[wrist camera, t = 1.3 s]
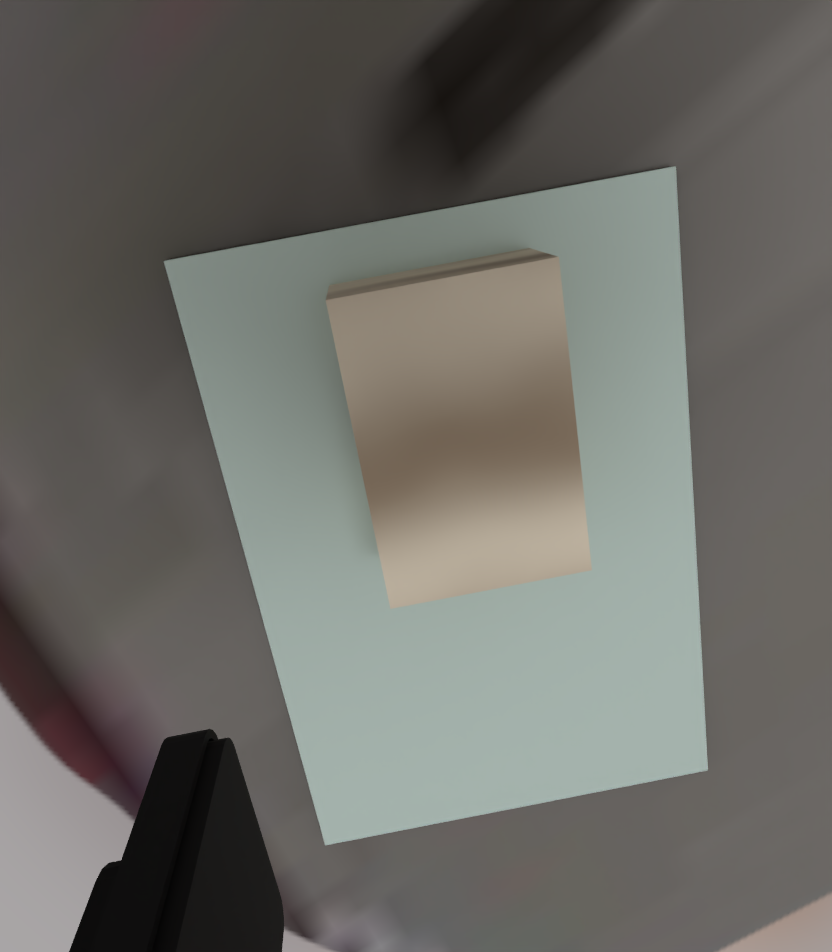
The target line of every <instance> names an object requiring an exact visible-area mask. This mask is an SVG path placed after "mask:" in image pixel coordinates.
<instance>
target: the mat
mask: <svg viewBox="0 0 832 952" xmlns="http://www.w3.org/2000/svg"><path fill="white" fill-rule="evenodd" d="M526 248H531V249H535V250H538V251H541V252H545V253H548V254H551V255H555V256H558V257H559V263H560V272H561V281H562V291H563V300H564V310H565V319H566V329H567V338H568V348H569V357H570V367H571V376H572V386H573V395H574V405H575V414H576V424H577V433H578V443H579V452H580V462H581V471H582V481H583V490H584V500H585V509H586V518H587V528H588V537H589V547H590V556H591V566H592V570H591V571H585V572H580V573H575V574H570V575H565V576H559V577H554V578H549V579H544V580H539V581H533V582H528V583H523V584H518V585H513V586H507V587H502V588H497V589H492V590H487V591H481V592H476V593H471V594H466V595H461V596H455V597H450V598H445V599H440V600H435V601H429V602H424V603H419V604H414V605H409V606H403V607H398V608H393V609H390V604H389V600H388V595H387V590H386V585H385V581H384V576H383V571H382V566H381V562H380V557H379V552H378V547H377V543H376V538H375V533H374V528H373V523H372V519H371V514H370V509H369V504H368V500H367V495H366V490H365V485H364V481H363V476H362V471H361V466H360V462H359V457H358V452H357V447H356V443H355V438H354V433H353V428H352V424H351V419H350V414H349V409H348V404H347V400H346V395H345V390H344V385H343V381H342V376H341V371H340V366H339V362H338V357H337V352H336V347H335V343H334V338H333V333H332V328H331V324H330V319H329V314H328V309H327V305H326V297H327V292H328V288H329V285H333V284H338V283H344V282H349V281H354V280H360V279H365V278H370V277H376V276H381V275H386V274H392V273H397V272H403V271H408V270H413V269H419V268H424V267H429V266H435V265H440V264H446V263H451V262H456V261H462V260H467V259H472V258H478V257H483V256H489V255H494V254H499V253H505V252H510V251H515V250H521V249H526ZM164 264H165V267H166V271H167V275H168V278H169V282H170V285H171V289H172V293H173V296H174V300H175V304H176V307H177V311H178V314H179V318H180V322H181V325H182V329H183V333H184V336H185V340H186V343H187V347H188V351H189V354H190V358H191V361H192V365H193V369H194V372H195V376H196V380H197V383H198V387H199V390H200V394H201V398H202V401H203V405H204V408H205V412H206V416H207V419H208V423H209V427H210V430H211V434H212V437H213V441H214V445H215V448H216V452H217V455H218V459H219V463H220V466H221V470H222V474H223V477H224V481H225V484H226V488H227V492H228V495H229V499H230V503H231V506H232V510H233V513H234V517H235V521H236V524H237V528H238V531H239V535H240V539H241V542H242V546H243V550H244V553H245V557H246V560H247V564H248V568H249V571H250V575H251V578H252V582H253V586H254V589H255V593H256V597H257V600H258V604H259V607H260V611H261V615H262V618H263V622H264V625H265V629H266V633H267V636H268V640H269V644H270V647H271V651H272V654H273V658H274V662H275V665H276V669H277V673H278V676H279V680H280V683H281V687H282V691H283V694H284V698H285V701H286V705H287V709H288V712H289V716H290V720H291V723H292V727H293V730H294V734H295V738H296V741H297V745H298V748H299V752H300V756H301V759H302V763H303V767H304V770H305V774H306V777H307V781H308V785H309V788H310V792H311V795H312V799H313V803H314V806H315V810H316V814H317V817H318V821H319V824H320V828H321V832H322V835H323V839H324V843H325V845H329V844H334V843H340V842H345V841H350V840H355V839H360V838H365V837H370V836H375V835H380V834H385V833H391V832H396V831H401V830H406V829H411V828H416V827H421V826H426V825H431V824H436V823H441V822H447V821H452V820H457V819H462V818H467V817H472V816H477V815H482V814H487V813H492V812H498V811H503V810H508V809H513V808H518V807H523V806H528V805H533V804H538V803H543V802H549V801H554V800H559V799H564V798H569V797H574V796H579V795H584V794H589V793H594V792H600V791H605V790H610V789H615V788H620V787H625V786H630V785H635V784H640V783H645V782H650V781H656V780H661V779H666V778H671V777H676V776H681V775H686V774H691V773H696V772H701V771H707V770H708V764H707V746H706V727H705V708H704V689H703V670H702V651H701V632H700V613H699V594H698V576H697V557H696V538H695V519H694V500H693V481H692V462H691V443H690V425H689V406H688V387H687V368H686V349H685V330H684V311H683V292H682V274H681V255H680V236H679V217H678V198H677V179H676V166H674V167H667V168H662V169H656V170H651V171H645V172H640V173H635V174H629V175H624V176H618V177H613V178H608V179H602V180H597V181H591V182H586V183H581V184H575V185H570V186H564V187H559V188H554V189H548V190H543V191H537V192H532V193H527V194H521V195H516V196H510V197H505V198H500V199H494V200H489V201H483V202H478V203H473V204H467V205H462V206H456V207H451V208H446V209H440V210H435V211H429V212H424V213H419V214H413V215H408V216H402V217H397V218H392V219H386V220H381V221H375V222H370V223H365V224H359V225H354V226H348V227H343V228H338V229H332V230H327V231H321V232H316V233H311V234H305V235H300V236H294V237H289V238H284V239H278V240H273V241H267V242H262V243H256V244H251V245H246V246H240V247H235V248H229V249H224V250H219V251H213V252H208V253H202V254H197V255H192V256H186V257H181V258H175V259H170V260H166V261H164Z"/></svg>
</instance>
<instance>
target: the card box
mask: <svg viewBox="0 0 832 952" xmlns="http://www.w3.org/2000/svg"><path fill="white" fill-rule="evenodd" d="M326 305H327V309H328V314H329V319H330V324H331V328H332V333H333V338H334V343H335V347H336V352H337V357H338V362H339V366H340V371H341V376H342V381H343V385H344V390H345V395H346V400H347V404H348V409H349V414H350V419H351V424H352V428H353V433H354V438H355V443H356V447H357V452H358V457H359V462H360V466H361V471H362V476H363V481H364V485H365V490H366V495H367V500H368V504H369V509H370V514H371V519H372V523H373V528H374V533H375V538H376V543H377V547H378V552H379V557H380V562H381V566H382V571H383V576H384V581H385V585H386V590H387V595H388V600H389V604H390V609H393V608H398V607H403V606H409V605H414V604H419V603H424V602H429V601H435V600H440V599H445V598H450V597H455V596H461V595H466V594H471V593H476V592H481V591H487V590H492V589H497V588H502V587H507V586H513V585H518V584H523V583H528V582H533V581H539V580H544V579H549V578H554V577H559V576H565V575H570V574H575V573H580V572H585V571H591V570H592V566H591V556H590V547H589V537H588V528H587V518H586V509H585V500H584V490H583V481H582V471H581V462H580V452H579V443H578V433H577V424H576V414H575V405H574V395H573V386H572V376H571V367H570V357H569V348H568V338H567V329H566V319H565V310H564V300H563V291H562V281H561V272H560V263H559V257H558V256H555V255H551V254H548V253H545V252H541V251H538V250H535V249H531V248H526V249H521V250H515V251H510V252H505V253H499V254H494V255H489V256H483V257H478V258H472V259H467V260H462V261H456V262H451V263H446V264H440V265H435V266H429V267H424V268H419V269H413V270H408V271H403V272H397V273H392V274H386V275H381V276H376V277H370V278H365V279H360V280H354V281H349V282H344V283H338V284H333V285H329V288H328V292H327V297H326Z"/></svg>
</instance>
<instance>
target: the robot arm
mask: <svg viewBox="0 0 832 952" xmlns="http://www.w3.org/2000/svg"><path fill="white" fill-rule="evenodd" d="M283 932H284V915H283V906H282V900H281V896H280V893H279V889H278V886H277V883H276V880H275V876H274V873H273V870H272V867H271V863H270V860H269V857H268V854H267V850H266V847H265V844H264V841H263V837H262V834H261V831H260V828H259V824H258V821H257V818H256V815H255V812H254V808H253V805H252V802H251V799H250V795H249V792H248V789H247V786H246V782H245V779H244V776H243V773H242V769H241V766H240V763H239V760H238V756H237V753H236V750H235V747H234V744H233V742H232V740H231V739H230V738H224V739H219V740H218V738H217V735H216V734H215V732H214V731H213V730H211V729H208V730H203V731H197V732H192V733H187V734H182V735H177V736H172V737H168V738H166V739H164V741H163V743H162V745H161V748H160V751H159V754H158V757H157V760H156V762H155V765H154V768H153V771H152V774H151V777H150V780H149V782H148V785H147V788H146V791H145V794H144V797H143V800H142V803H141V805H140V808H139V811H138V814H137V817H136V820H135V823H134V825H133V828H132V831H131V834H130V837H129V840H128V843H127V846H126V849H125V851H124V854H123V857H122V860H121V861H116V862H111V863H108V864H107V865H106V866H105V867H104V868H103V869H102V870H101V872H100V874H99V876H98V878H97V880H96V882H95V885H94V887H93V890H92V892H91V895H90V898H89V900H88V903H87V906H86V908H85V911H84V914H83V916H82V919H81V922H80V924H79V927H78V930H77V932H76V935H75V938H74V940H73V943H72V946H71V948H70V951H69V952H282V943H283Z"/></svg>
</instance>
